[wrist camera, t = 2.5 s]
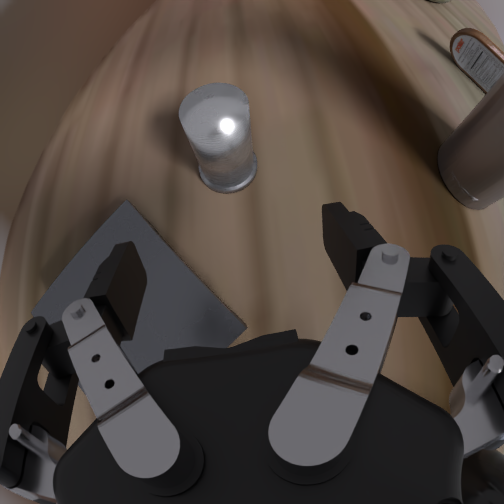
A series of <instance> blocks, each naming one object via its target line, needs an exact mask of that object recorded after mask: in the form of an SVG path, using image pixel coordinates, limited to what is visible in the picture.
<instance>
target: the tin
mask: <svg viewBox="0 0 504 504" xmlns="http://www.w3.org/2000/svg"><path fill="white" fill-rule="evenodd" d="M450 52H451V55H452V58H453V60H454V61H455V63H456V64H457V66H458V67H459V68H460V69H461V70H462V71H463V72H464V73H465V74H466V75H467V76H469V77H470V78H471V79H472V80H473V81H474V82H475V83H476V84H477V85H478V86H479V87H480V88H481V89H482V90H483V91H484V92H485V93H486V94H487V92H488V91H489V90H490V89H491V88H492V86H493V85H494V84H495V83H496V82H497V80H498V79H499V78H500V77H501V75H502V74H503V73H504V52H503V51H501V50H500V49H499V48H498V47H497V46H496V45H495V44H494V43H493V42H492V41H491V40H490V39H489V38H488V37H487V36H485V35H484V34H483V33H481V32H480V31H477V30H475V29H471V28H464V29H461V30H459V31H458V32H457V33H456V34H454V35H453V37H452V38H451V41H450Z"/></svg>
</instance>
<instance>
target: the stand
mask: <svg viewBox="0 0 504 504" xmlns="http://www.w3.org/2000/svg"><path fill="white" fill-rule="evenodd" d="M128 241H132V242H133V243H134V244H135V246H136V249H137V251H138V254H139V256H140V259H141V261H142V264H143V266H144V268H145V271H146V274H147V286H146V290H145V293H144V297H143V301H142V304H141V308H140V312H139V316H138V320H137V324H136V328H135V332H134V336H133V340H131V341H121V345H120V346H121V348H122V349H123V351H124V352H125V354H126V355H127V357H128V358H129V360H130V361H131V363H132V364H133V366H134V367H135V369H136V370H137V372H138V373H140V372H141V371H142V370H144V369H145V368H147V367H148V366H150V365H152V364H154V363H156V362H158V361H161V360H163V357H164V350H166V349H175V348H183V347H191V346H201V347H215V348H227V347H228V346H229V345H230V344H231V343H232V342H233V341H234V340H235V339H237V338H238V337H239V336H240V335H241V334H242V333H243V332H244V331H245V330H246V329H247V328H248V327H247V325H246V324H245V323H244V322H243V321H242V320H241V319H240V318H239V317H238V316H237V315H236V314H235V313H234V312H232V311H231V310H230V309H229V308H228V307H227V306H226V305H225V304H224V303H223V302H222V301H221V300H220V299H219V298H218V297H217V296H216V295H215V294H214V293H213V292H212V291H211V290H210V289H209V288H208V287H207V286H206V285H205V284H204V283H203V282H202V280H201V279H200V278H199V277H198V276H197V275H196V274H195V273H194V272H193V271H192V270H191V269H190V268H189V267H188V266H187V265H186V264H185V262H184V261H183V260H182V259H181V258H180V257H179V256H178V255H177V254H176V253H175V252H174V251H173V249H172V248H171V247H170V246H169V245H168V244H167V243H166V242H165V241H164V240H163V239H162V237H161V236H160V235H159V234H158V233H157V231H156V230H155V228H154V227H153V226H152V225H151V224H150V223H149V222H148V221H147V220H146V219H145V218H144V217H143V216H142V215H141V214H140V213H139V212H138V210H137V209H136V208H135V207H134V206H133V205H132V204H131V203H130V202H129V201H128V200H126V201H125V202H124V203H123V204H122V205H121V206H120V207H119V208H118V209H117V210H116V211H115V212H114V213H113V214H112V215H111V216H110V217H109V218H108V219H107V220H106V221H105V222H104V224H103V225H102V226H101V227H100V228H99V229H98V230H97V231H96V232H95V233H94V235H93V236H92V237H91V238H90V239H89V240H88V241H87V242H86V244H85V245H84V246H83V247H82V248H81V249H80V250H79V252H78V253H77V254H76V255H75V256H74V258H73V259H72V260H71V261H70V262H69V264H68V265H67V266H66V267H65V268H64V270H63V271H62V272H61V273H60V275H59V276H58V277H57V278H56V280H55V281H54V282H53V283H52V285H51V286H50V287H49V289H48V290H47V291H46V293H45V294H44V295H43V297H42V298H41V299H40V301H39V302H38V303H37V305H36V306H35V308H34V309H33V310H32V312H31V313H32V315H33V317H37V316H42V317H44V318H45V319H46V321H47V322H48V324H49V325H50V324H53V323H55V322H58V321H60V320H62V315H63V312H64V311H65V309H66V308H67V307H68V306H69V305H70V304H71V303H73V302H74V301H76V300H78V299H82V298H84V296H85V293H86V291H87V289H88V287H89V285H90V283H91V281H93V277H94V275H95V274H96V271H97V269H98V267H99V265H100V264H101V263H102V262H103V261H104V260H105V259H106V258H107V257H109V255H110V253H111V251H112V249H113V247H114V246H115V245H116V244H119V243H124V242H128ZM78 386H79V387H80V388H81V389H82V391H83V392H84V389H83V387H82V385H81V383H80V380H79V382H78ZM84 393H85V392H84ZM85 395H86V394H85Z"/></svg>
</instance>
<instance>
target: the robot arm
mask: <svg viewBox="0 0 504 504" xmlns="http://www.w3.org/2000/svg"><path fill="white" fill-rule="evenodd" d="M438 167H439V170H440V174H441V176H442V178H443V181H444V183H445V184H446V186H447V188H448V189H449V191H450V192H451V193H452V194H453V196H454V197H455V198H456V199H457V200H458V201H459V202H461V203H462V204H464V205H465V206H467V207H469V208H471V209H476V210H480V209H484V208H486V207H488V206H489V205H491V204H493V203H495V202H496V201H498V200H500V199H502V198H503V197H504V73H503V74H502V75H501V77H500V78H499V79H498V80H497V82H496V83H495V84H494V85H493V86H492V88H491V89H490V90H489V91H488V92H487V94H486V95H485V96H484V97H483V98H482V100H481V101H480V102H479V103H478V104H477V105H476V107H475V108H474V109H473V110H472V111H471V112H470V114H469V115H468V116H467V117H466V118H465V119H464V120H463V122H462V123H461V124H460V125H459V126H458V127H457V128H456V129H455V130H454V131H453V133H452V134H451V135H450V136H449V137H448V138H447V139H446V140H445V141H444V143H443V144H442V145H441V146H440V149H439V151H438ZM322 222H323V241H324V246H325V250H326V252H327V254H328V256H329V258H330V260H331V262H332V263H333V265H334V267H335V269H336V271H337V273H338V275H339V277H340V279H341V280H342V282H343V284H344V286H345V288H346V290H347V293H346V295H345V297H344V299H343V301H342V303H341V305H340V307H339V309H338V311H337V313H336V315H335V317H334V319H333V321H332V323H331V325H330V327H329V329H328V331H327V333H326V335H325V337H324V339H323V341H322V342H320V341H316V340H310V339H298V336H297V332H296V329H294V330H289V331H284V332H279V333H273V334H268V335H263V336H260V337H257V338H255V339H252V340H250V341H247V342H244V343H242V344H239V345H236V346H233V347H230V348H215V347H201V346H191V347H183V348H175V349H166V350H164V357H163V360H161V361H158V362H156V363H154V364H152V365H150V366H148V367H147V368H145V369H144V370H142V371H141V372H140V373H138V372H137V370H136V369H135V367H134V366H133V364H132V363H131V361H130V360H129V358H128V357H127V355H126V354H125V352H124V351H123V349H122V348H121V346H120V345H121V341H131V340H133V336H134V332H135V328H136V324H137V320H138V316H139V312H140V308H141V304H142V301H143V297H144V293H145V290H146V286H147V274H146V271H145V268H144V266H143V264H142V261H141V259H140V256H139V254H138V251H137V249H136V246H135V244H134V243H133V242H132V241H128V242H124V243H119V244H116V245H115V246H114V247H113V249H112V251H111V253H110V255H109V257H107V258H106V259H105V260H104V261H103V262H102V263H101V264H100V265H99V267H98V269H97V271H96V274H95V275H94V277H93V281H91V283H90V285H89V287H88V289H87V291H86V293H85V296H84V298H82V299H78V300H76V301H74V302H73V303H71V304H70V305H69V306H68V307H67V308H66V309H65V311H64V312H63V315H62V320H60V321H58V322H55V323H53V324H50V325H49V324H48V322H47V321H46V319H45V318H44V317H42V316H37V317H34V318H32V319H31V320H29V321H28V322H27V323H26V324H25V325H24V326H23V328H22V329H21V331H20V334H19V336H18V338H17V340H16V342H15V344H14V347H13V349H12V351H11V354H10V356H9V358H8V361H7V363H6V366H5V368H4V371H3V373H2V376H1V378H0V484H1V485H2V486H3V487H4V488H6V489H8V490H10V491H12V492H14V493H16V494H18V495H20V496H22V497H24V498H26V499H29V500H33V501H35V502H37V503H40V504H56V503H57V504H463V501H462V495H461V471H462V463H463V459H465V458H467V457H469V456H471V455H473V454H474V453H476V452H478V451H480V450H482V449H485V450H495V449H497V448H499V447H500V446H502V445H503V444H504V300H503V299H502V298H501V296H500V295H499V294H498V293H497V291H496V290H495V289H494V288H493V286H492V285H491V284H490V283H489V281H488V280H487V279H486V278H485V277H484V275H483V274H482V273H481V272H480V271H479V270H478V268H477V267H476V266H475V265H474V264H473V263H472V262H471V260H470V259H469V258H468V257H467V256H466V255H465V254H464V253H463V252H462V251H461V250H460V249H458V248H456V247H454V246H450V245H438V246H435V247H434V248H433V249H432V250H431V255H430V258H413V257H410V255H409V253H408V252H407V251H406V250H405V249H404V248H402V247H400V246H398V245H394V244H387V242H386V241H385V240H384V239H383V238H382V236H381V235H380V234H379V233H378V232H377V231H376V230H375V229H374V227H373V226H372V225H371V224H369V222H368V220H367V219H366V218H365V217H364V216H363V215H361V214H359V213H357V212H355V211H353V212H349V211H348V210H347V209H346V208H345V206H344V205H343V204H342V203H341V202H336V203H329V204H323V206H322ZM453 304H454V305H455V307H456V308H457V310H458V313H459V314H458V313H457V311H456V310H455V308H454V307H453ZM398 317H418V318H419V320H420V322H421V323H422V325H423V327H424V329H425V331H426V333H427V334H428V336H429V338H430V340H431V342H432V344H433V346H434V348H435V350H436V352H437V354H438V356H439V358H440V360H441V362H442V364H443V366H444V368H445V370H446V372H447V374H448V376H449V378H450V380H451V383H452V385H453V387H454V388H453V389H452V391H451V393H450V396H449V404H450V408H451V415H450V414H449V413H448V412H447V411H445V410H444V409H442V408H441V407H439V406H437V405H435V404H433V403H432V402H430V401H428V400H426V399H424V398H422V397H421V396H419V395H417V394H415V393H413V392H412V391H410V390H408V389H406V388H404V387H403V386H401V385H399V384H397V383H396V382H394V381H392V380H390V379H389V378H387V377H385V376H383V375H382V374H381V371H382V368H383V365H384V361H385V358H386V355H387V352H388V349H389V346H390V343H391V339H392V336H393V333H394V329H395V326H396V322H397V318H398ZM41 364H42V365H43V366H44V367H45V368H46V369H47V371H48V372H49V374H48V377H47V381H46V384H45V387H44V391H43V390H42V389H41V388H40V387H39V385H38V381H37V376H38V373H39V370H40V367H41ZM79 380H80V383H81V385H82V387H83V389H84V392H85V394H86V396H87V398H88V401H89V403H90V405H91V407H92V409H93V411H94V413H95V415H96V417H97V418H96V420H95V421H94V422H93V423H92V424H91V425H90V426H89V427H88V428H87V429H86V430H85V431H84V433H83V434H82V435H81V436H80V437H79V438H78V439H77V440H76V441H75V442H74V443H73V444H72V445H71V447H70V448H69V449H68V450H67V449H66V444H67V438H68V432H69V426H70V421H71V415H72V410H73V405H74V400H75V396H76V391H77V387H78V382H79Z"/></svg>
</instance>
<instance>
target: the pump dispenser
mask: <svg viewBox="0 0 504 504" xmlns="http://www.w3.org/2000/svg"><path fill="white" fill-rule="evenodd" d="M461 495H462V501H463V504H504V455H503V454H502V453H500V452H499V451H497V450H496V449H495V450H485V449H482V450H480V451H478V452H476V453H474V454H473V455H471V456H469V457H467V458H465V459H463V463H462V471H461Z"/></svg>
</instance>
